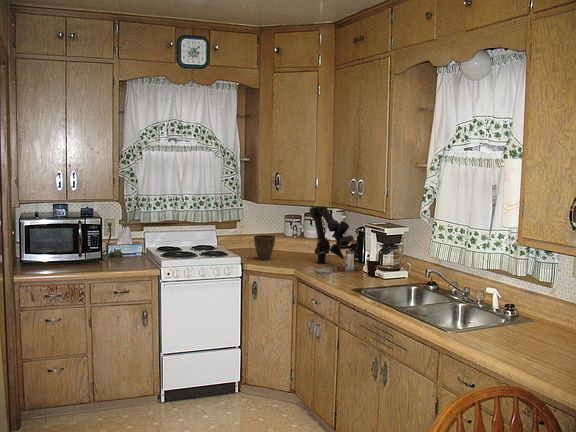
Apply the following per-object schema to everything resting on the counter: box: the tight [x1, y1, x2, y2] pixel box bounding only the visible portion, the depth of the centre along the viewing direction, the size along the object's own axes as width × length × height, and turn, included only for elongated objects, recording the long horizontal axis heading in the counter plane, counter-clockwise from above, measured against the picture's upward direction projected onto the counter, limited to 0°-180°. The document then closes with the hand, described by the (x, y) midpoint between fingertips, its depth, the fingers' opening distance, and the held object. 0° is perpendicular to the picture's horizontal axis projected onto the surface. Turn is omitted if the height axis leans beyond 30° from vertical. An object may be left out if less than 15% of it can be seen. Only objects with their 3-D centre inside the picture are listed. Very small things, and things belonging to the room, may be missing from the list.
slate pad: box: [314, 268, 333, 275], centre depth 372 cm, size 9×9×1 cm
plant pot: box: [253, 234, 276, 261], centre depth 412 cm, size 15×15×16 cm
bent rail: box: [332, 264, 341, 274], centre depth 376 cm, size 12×4×3 cm, turn 7°
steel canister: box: [344, 249, 355, 273], centre depth 375 cm, size 5×5×13 cm
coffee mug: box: [366, 258, 381, 278], centre depth 363 cm, size 12×9×10 cm
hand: (349, 258), depth 376 cm, fingers open, 9 cm apart
